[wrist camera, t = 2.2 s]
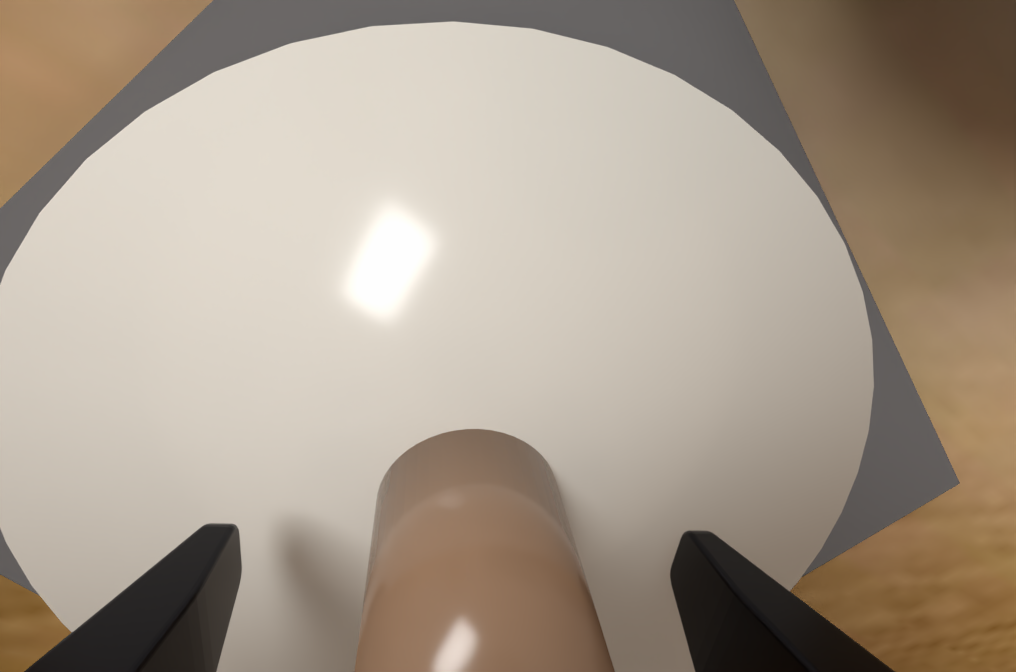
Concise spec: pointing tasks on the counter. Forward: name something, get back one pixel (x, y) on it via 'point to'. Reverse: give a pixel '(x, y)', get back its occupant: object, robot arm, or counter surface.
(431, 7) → the mat
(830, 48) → the counter surface
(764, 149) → the lid
